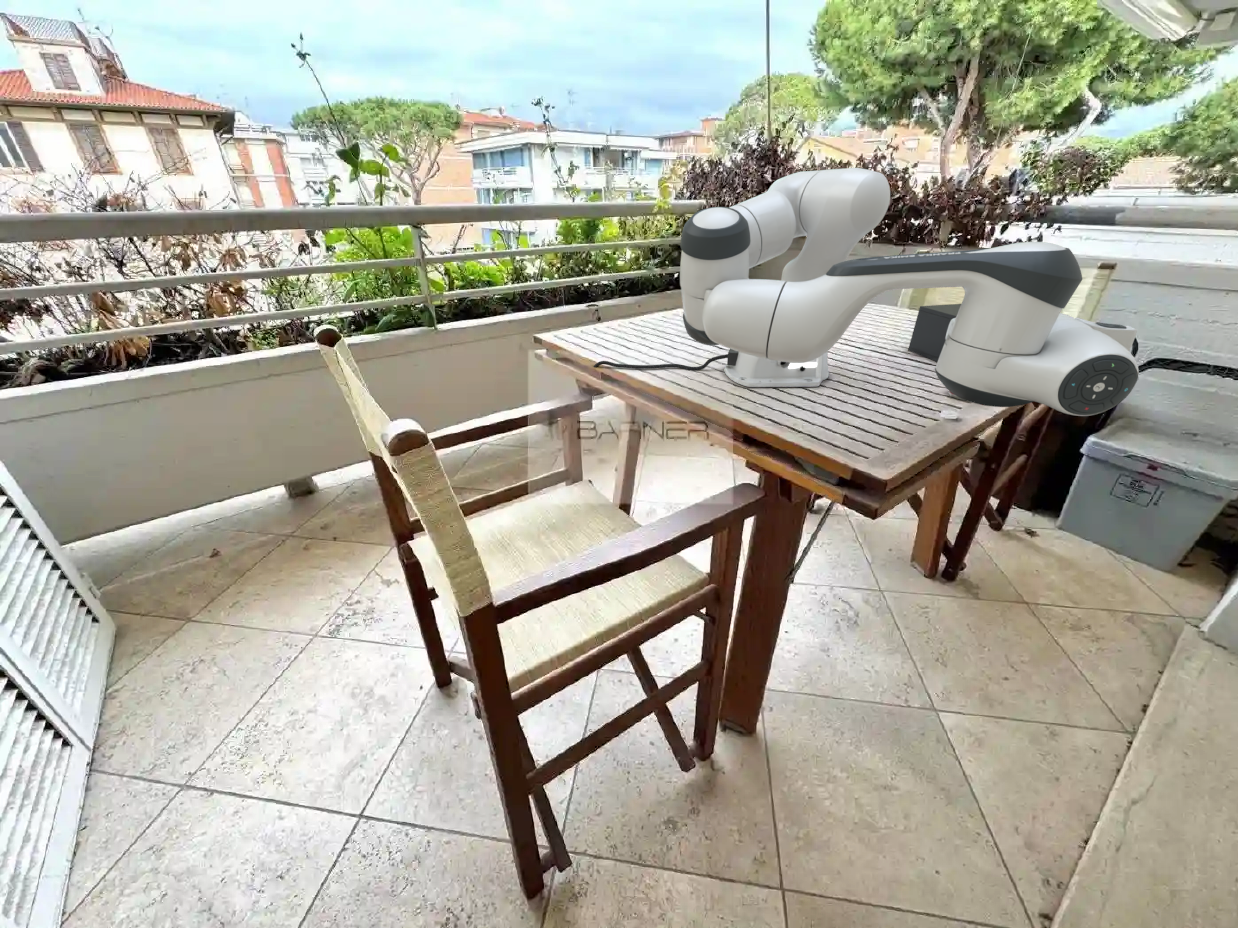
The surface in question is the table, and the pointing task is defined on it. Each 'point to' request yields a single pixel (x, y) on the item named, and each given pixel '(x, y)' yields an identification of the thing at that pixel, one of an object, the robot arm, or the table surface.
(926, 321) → the cabinet
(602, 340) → the table surface
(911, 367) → the table surface
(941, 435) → the table surface
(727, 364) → the robot arm
